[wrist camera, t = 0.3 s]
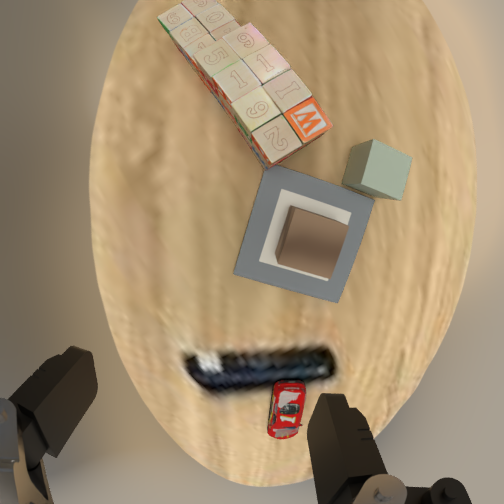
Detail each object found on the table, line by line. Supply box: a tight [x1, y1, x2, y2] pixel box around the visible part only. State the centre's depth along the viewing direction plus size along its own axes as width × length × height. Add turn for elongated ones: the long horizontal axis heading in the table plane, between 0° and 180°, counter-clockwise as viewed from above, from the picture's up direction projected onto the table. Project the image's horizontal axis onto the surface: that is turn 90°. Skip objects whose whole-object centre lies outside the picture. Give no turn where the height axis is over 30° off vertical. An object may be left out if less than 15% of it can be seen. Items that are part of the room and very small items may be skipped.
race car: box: [268, 380, 306, 439], centre depth 40 cm, size 13×5×4 cm, turn 176°
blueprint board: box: [233, 165, 375, 303], centre depth 32 cm, size 14×14×6 cm
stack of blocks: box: [157, 0, 333, 170], centre depth 26 cm, size 21×6×12 cm, turn 33°
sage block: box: [342, 139, 412, 201], centre depth 30 cm, size 5×5×7 cm
